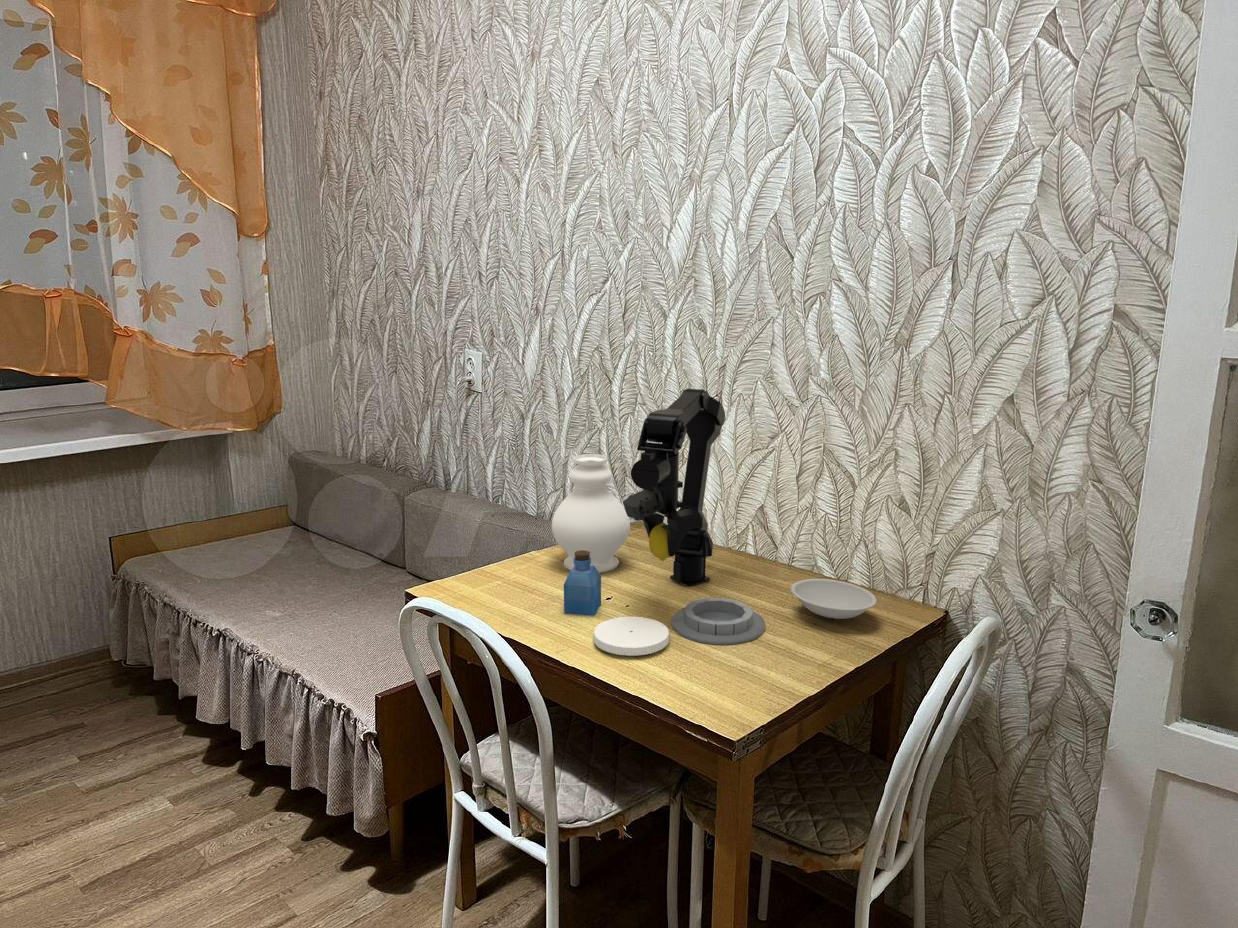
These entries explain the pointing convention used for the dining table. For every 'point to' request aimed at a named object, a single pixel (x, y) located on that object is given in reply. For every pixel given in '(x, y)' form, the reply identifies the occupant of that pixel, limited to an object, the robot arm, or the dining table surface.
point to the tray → (718, 639)
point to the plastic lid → (631, 636)
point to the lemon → (659, 542)
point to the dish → (833, 598)
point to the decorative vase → (591, 516)
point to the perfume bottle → (582, 587)
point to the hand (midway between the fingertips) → (662, 552)
